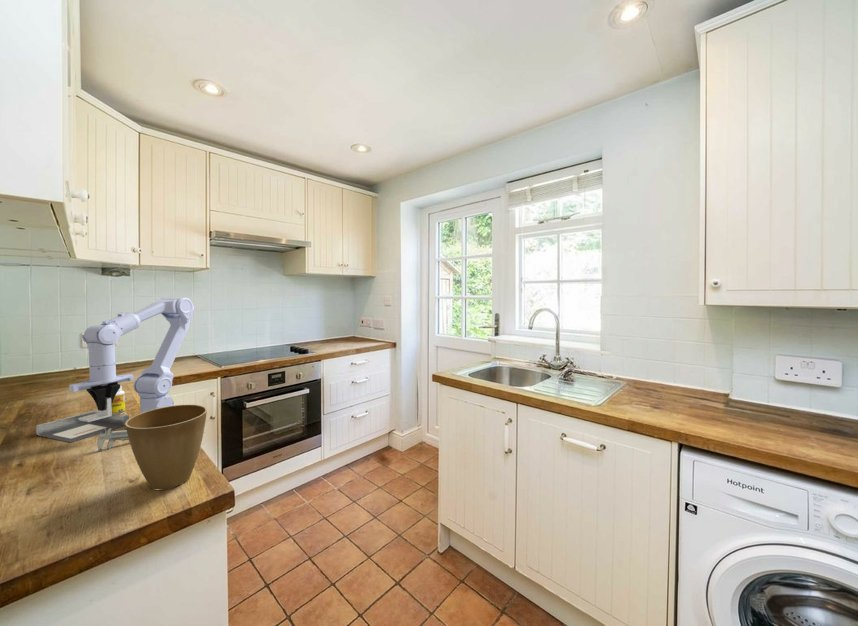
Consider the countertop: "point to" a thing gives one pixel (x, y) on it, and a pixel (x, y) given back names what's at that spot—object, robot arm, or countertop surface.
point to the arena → (79, 426)
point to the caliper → (111, 438)
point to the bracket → (99, 412)
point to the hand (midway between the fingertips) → (104, 409)
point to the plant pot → (167, 443)
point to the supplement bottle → (119, 402)
